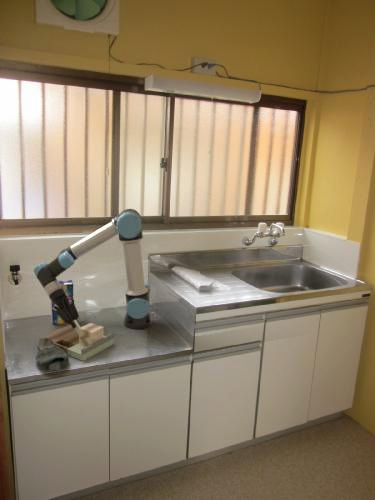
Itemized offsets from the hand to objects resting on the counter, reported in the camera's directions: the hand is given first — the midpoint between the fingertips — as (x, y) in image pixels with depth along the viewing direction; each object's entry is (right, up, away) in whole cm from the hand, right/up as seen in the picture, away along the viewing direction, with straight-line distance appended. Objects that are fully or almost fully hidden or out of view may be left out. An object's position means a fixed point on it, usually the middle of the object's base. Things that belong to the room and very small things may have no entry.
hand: (80, 332), depth 201 cm
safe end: (+6, -8, -2) cm, 10 cm away
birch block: (+6, -5, -2) cm, 8 cm away
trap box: (-7, -5, +5) cm, 10 cm away
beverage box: (-17, +1, +27) cm, 32 cm away
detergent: (-10, -10, -13) cm, 19 cm away
